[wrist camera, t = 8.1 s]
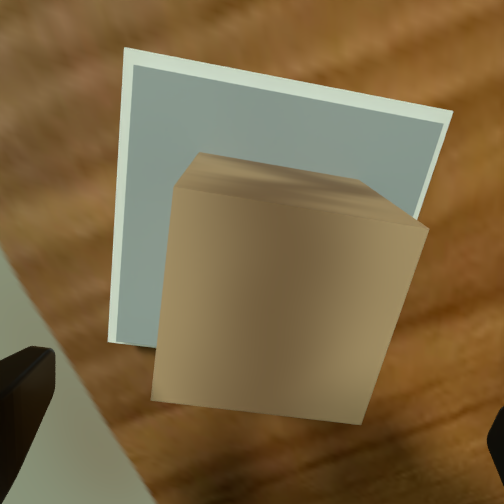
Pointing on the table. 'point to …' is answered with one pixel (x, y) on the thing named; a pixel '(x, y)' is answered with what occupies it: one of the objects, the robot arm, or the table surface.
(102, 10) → the table surface
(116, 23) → the table surface
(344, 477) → the table surface
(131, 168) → the pedestal
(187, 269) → the oak cube
